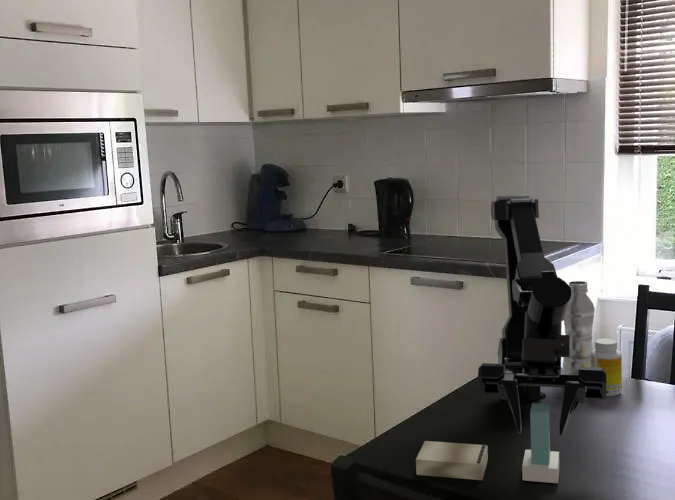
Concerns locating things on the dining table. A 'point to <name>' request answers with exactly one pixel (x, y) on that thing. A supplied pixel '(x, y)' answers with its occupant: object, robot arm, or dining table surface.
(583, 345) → the plastic bottle
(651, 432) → the dining table surface
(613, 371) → the supplement bottle
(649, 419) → the dining table surface
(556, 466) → the teal pillar on base
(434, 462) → the beige flat block
